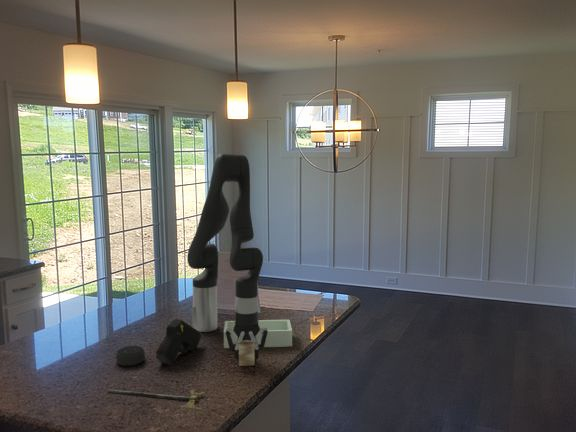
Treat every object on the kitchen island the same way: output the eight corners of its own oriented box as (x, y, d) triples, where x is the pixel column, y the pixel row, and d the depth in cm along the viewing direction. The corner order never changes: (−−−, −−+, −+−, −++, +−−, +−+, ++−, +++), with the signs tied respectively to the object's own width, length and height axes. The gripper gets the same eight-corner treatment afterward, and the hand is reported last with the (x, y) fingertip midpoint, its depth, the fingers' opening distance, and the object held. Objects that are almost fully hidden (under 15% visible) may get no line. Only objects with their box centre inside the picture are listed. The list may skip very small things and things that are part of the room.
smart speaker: (112, 361, 168) (111, 349, 168) (138, 354, 174) (137, 342, 173) (122, 369, 161) (122, 357, 161) (149, 362, 167) (148, 350, 167)
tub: (223, 348, 179) (223, 332, 178) (225, 336, 191) (225, 321, 190) (292, 346, 181) (292, 330, 180) (289, 334, 193) (289, 319, 192)
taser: (152, 359, 162) (168, 314, 169) (180, 373, 177) (193, 331, 183) (163, 361, 161) (179, 316, 167) (190, 375, 175) (203, 332, 182)
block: (238, 365, 164) (238, 344, 163) (239, 359, 169) (239, 339, 168) (254, 365, 165) (254, 344, 164) (254, 359, 170) (254, 338, 169)
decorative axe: (104, 390, 145) (128, 372, 154) (105, 395, 146) (128, 377, 155) (194, 412, 134) (213, 392, 143) (194, 418, 134) (214, 397, 143)
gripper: (223, 313, 160) (224, 365, 162) (269, 312, 161) (269, 363, 164) (224, 306, 168) (225, 355, 170) (268, 305, 169) (268, 354, 171)
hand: (246, 359), depth 167 cm, fingers closed on block, 5 cm apart
